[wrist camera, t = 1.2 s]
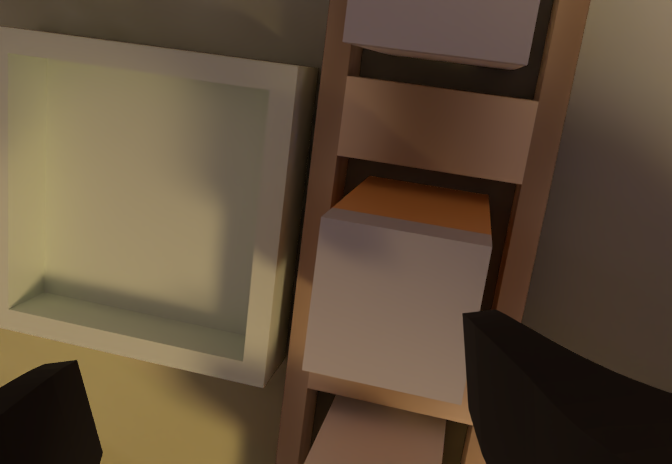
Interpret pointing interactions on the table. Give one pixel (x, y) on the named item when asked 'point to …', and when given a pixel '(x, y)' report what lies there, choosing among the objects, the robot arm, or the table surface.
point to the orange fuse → (398, 286)
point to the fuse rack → (432, 154)
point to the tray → (151, 200)
